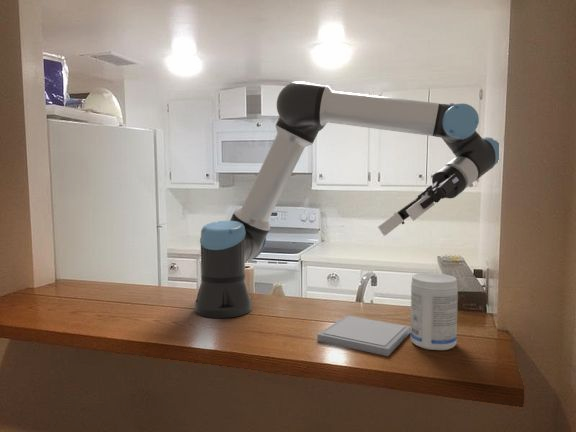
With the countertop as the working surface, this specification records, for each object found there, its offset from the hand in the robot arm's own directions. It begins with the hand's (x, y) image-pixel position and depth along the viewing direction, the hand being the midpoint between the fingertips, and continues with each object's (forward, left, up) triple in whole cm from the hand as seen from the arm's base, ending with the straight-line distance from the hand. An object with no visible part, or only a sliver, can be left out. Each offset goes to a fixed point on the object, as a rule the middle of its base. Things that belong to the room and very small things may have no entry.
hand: (394, 223), depth 103 cm
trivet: (-4, -6, -25) cm, 26 cm away
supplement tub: (+10, -2, -26) cm, 28 cm away
